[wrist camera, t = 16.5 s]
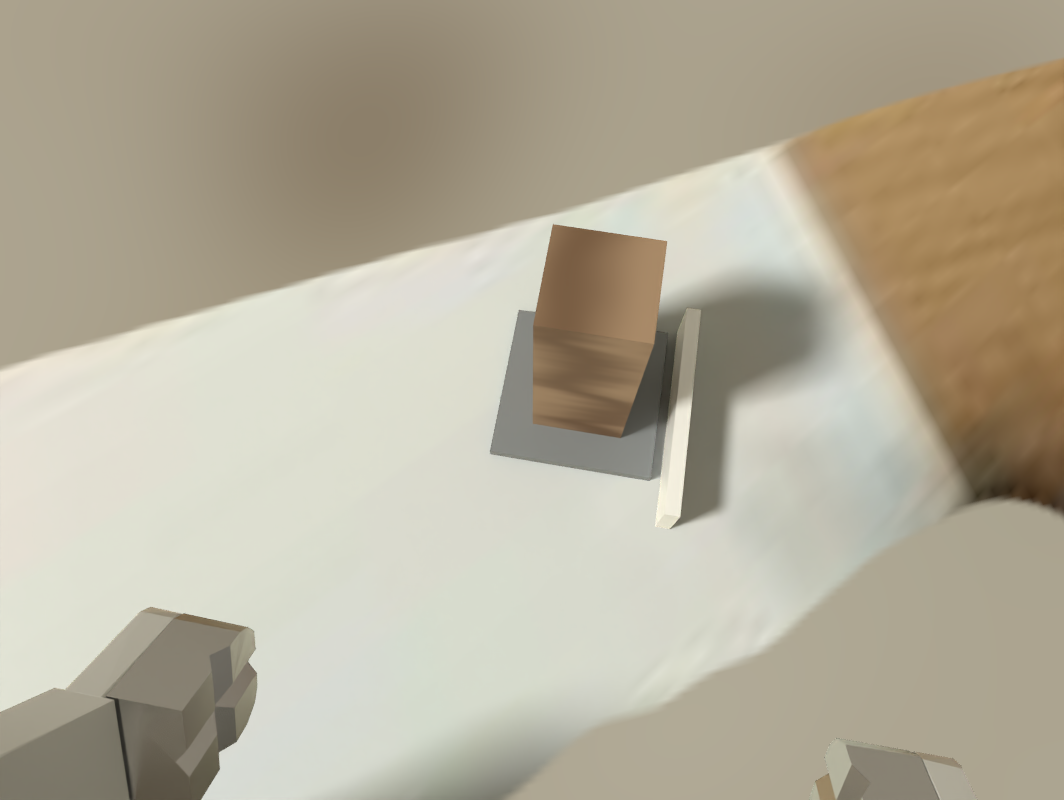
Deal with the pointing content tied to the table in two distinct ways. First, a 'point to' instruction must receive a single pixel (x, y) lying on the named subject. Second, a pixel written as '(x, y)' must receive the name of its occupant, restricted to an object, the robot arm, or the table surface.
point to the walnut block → (594, 328)
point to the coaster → (571, 446)
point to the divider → (678, 421)
